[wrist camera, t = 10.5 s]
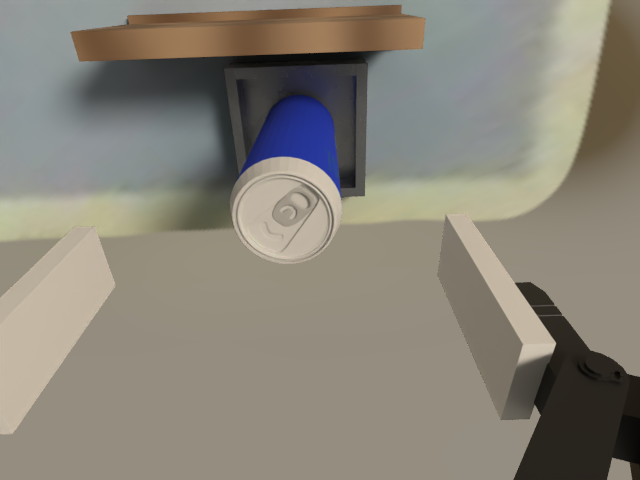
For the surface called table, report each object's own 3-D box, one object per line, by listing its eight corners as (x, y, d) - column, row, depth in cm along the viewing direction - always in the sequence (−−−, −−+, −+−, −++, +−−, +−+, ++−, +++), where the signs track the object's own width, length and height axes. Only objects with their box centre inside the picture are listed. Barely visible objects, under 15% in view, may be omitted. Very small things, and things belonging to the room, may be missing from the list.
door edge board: (140, 54, 29) (82, 71, 22) (130, 15, 28) (66, 20, 21) (397, 44, 28) (421, 59, 22) (400, 4, 27) (426, 6, 20)
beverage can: (303, 174, 33) (291, 287, 20) (251, 131, 31) (201, 224, 18) (348, 126, 31) (367, 217, 18) (296, 77, 29) (275, 138, 16)
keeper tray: (247, 186, 34) (242, 199, 32) (231, 63, 29) (223, 68, 27) (361, 183, 34) (364, 196, 31) (364, 58, 29) (367, 63, 27)
